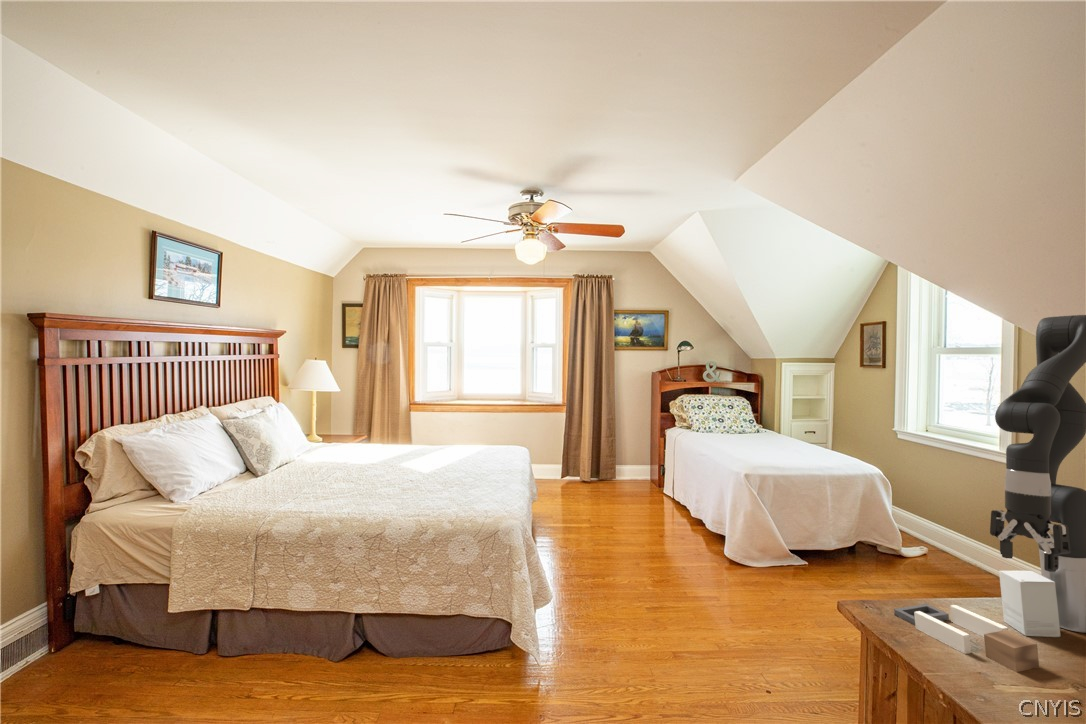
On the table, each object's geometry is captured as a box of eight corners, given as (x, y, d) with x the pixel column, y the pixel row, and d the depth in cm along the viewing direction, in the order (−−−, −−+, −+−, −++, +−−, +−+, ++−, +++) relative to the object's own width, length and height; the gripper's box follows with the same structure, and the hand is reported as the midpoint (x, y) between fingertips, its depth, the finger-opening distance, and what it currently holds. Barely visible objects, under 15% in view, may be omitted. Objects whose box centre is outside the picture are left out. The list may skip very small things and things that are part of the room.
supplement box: (1062, 637, 115) (1056, 582, 116) (1024, 636, 117) (1019, 581, 117) (1037, 622, 123) (1032, 569, 123) (1002, 621, 124) (997, 569, 125)
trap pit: (926, 609, 132) (926, 603, 132) (949, 619, 126) (948, 613, 126) (894, 614, 130) (894, 609, 130) (915, 625, 124) (915, 619, 124)
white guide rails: (956, 621, 125) (955, 604, 126) (1009, 645, 114) (1007, 627, 114) (915, 628, 123) (914, 611, 123) (965, 654, 111) (963, 635, 112)
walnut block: (1008, 653, 111) (1005, 630, 111) (1039, 667, 105) (1037, 643, 105) (985, 657, 110) (983, 634, 110) (1016, 672, 104) (1014, 648, 104)
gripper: (1079, 498, 107) (1080, 575, 106) (1006, 485, 121) (1007, 553, 120) (1051, 497, 106) (1051, 576, 105) (980, 484, 120) (981, 554, 119)
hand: (1027, 564), depth 112 cm, fingers open, 8 cm apart
